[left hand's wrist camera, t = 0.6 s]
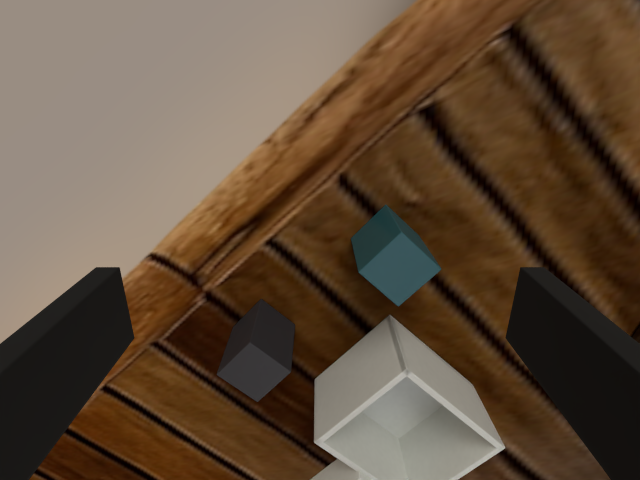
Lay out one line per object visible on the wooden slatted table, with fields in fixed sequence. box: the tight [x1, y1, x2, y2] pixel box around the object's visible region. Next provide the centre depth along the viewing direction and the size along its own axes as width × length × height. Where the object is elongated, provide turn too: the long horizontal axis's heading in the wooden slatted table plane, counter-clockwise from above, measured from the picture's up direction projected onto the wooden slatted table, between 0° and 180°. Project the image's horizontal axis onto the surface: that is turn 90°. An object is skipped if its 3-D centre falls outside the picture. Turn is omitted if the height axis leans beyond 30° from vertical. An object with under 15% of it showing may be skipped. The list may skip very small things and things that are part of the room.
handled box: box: [310, 315, 505, 480], centre depth 40 cm, size 13×24×9 cm, turn 137°
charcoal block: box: [217, 299, 295, 402], centre depth 36 cm, size 4×4×7 cm
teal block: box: [351, 205, 441, 306], centre depth 32 cm, size 4×4×7 cm
